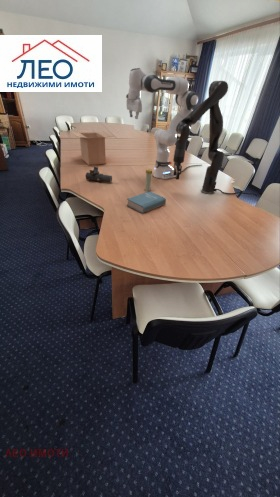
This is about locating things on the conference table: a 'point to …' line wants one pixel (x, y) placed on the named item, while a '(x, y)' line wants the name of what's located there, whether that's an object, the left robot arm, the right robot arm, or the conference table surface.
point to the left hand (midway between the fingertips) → (133, 118)
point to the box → (92, 146)
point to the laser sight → (98, 176)
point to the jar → (148, 182)
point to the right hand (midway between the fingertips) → (176, 177)
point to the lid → (149, 171)
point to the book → (146, 201)
